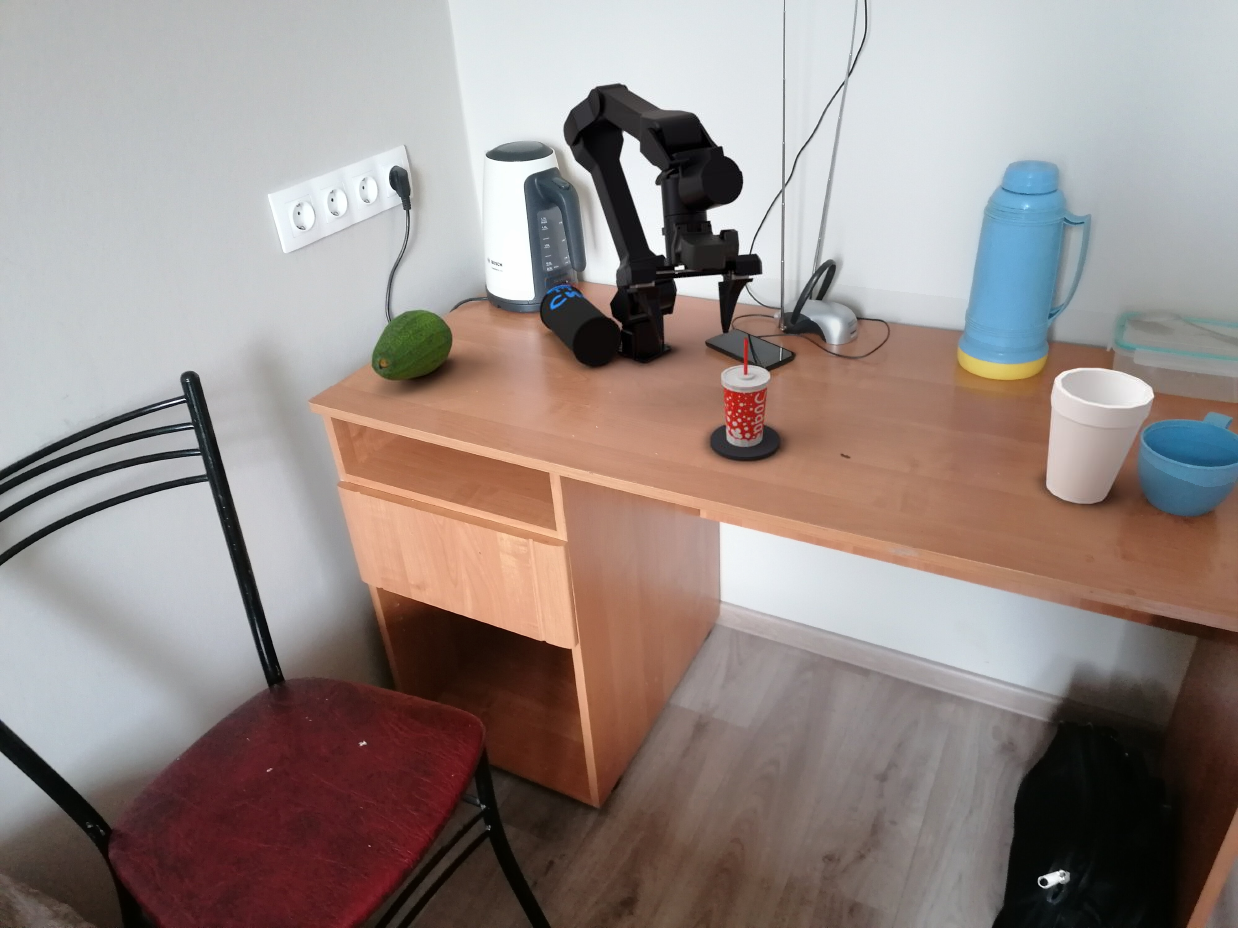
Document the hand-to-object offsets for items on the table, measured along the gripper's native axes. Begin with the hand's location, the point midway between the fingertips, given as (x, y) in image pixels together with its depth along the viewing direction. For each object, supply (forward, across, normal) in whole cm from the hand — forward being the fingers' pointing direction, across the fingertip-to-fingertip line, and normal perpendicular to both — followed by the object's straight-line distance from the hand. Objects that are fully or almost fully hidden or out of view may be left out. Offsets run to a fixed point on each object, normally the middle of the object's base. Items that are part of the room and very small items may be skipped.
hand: (693, 336), depth 114 cm
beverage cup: (+14, +4, -7) cm, 16 cm away
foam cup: (+20, +35, -29) cm, 50 cm away
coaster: (+14, +4, -7) cm, 16 cm away
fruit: (+3, -36, +29) cm, 47 cm away
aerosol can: (0, -9, +19) cm, 21 cm away
